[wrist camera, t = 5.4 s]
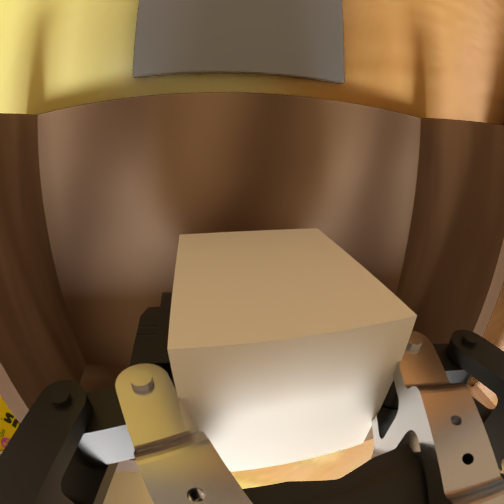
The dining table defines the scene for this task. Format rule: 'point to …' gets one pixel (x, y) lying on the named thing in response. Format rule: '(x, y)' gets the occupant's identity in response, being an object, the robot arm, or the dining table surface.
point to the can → (127, 489)
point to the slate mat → (240, 38)
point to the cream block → (281, 344)
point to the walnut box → (228, 215)
